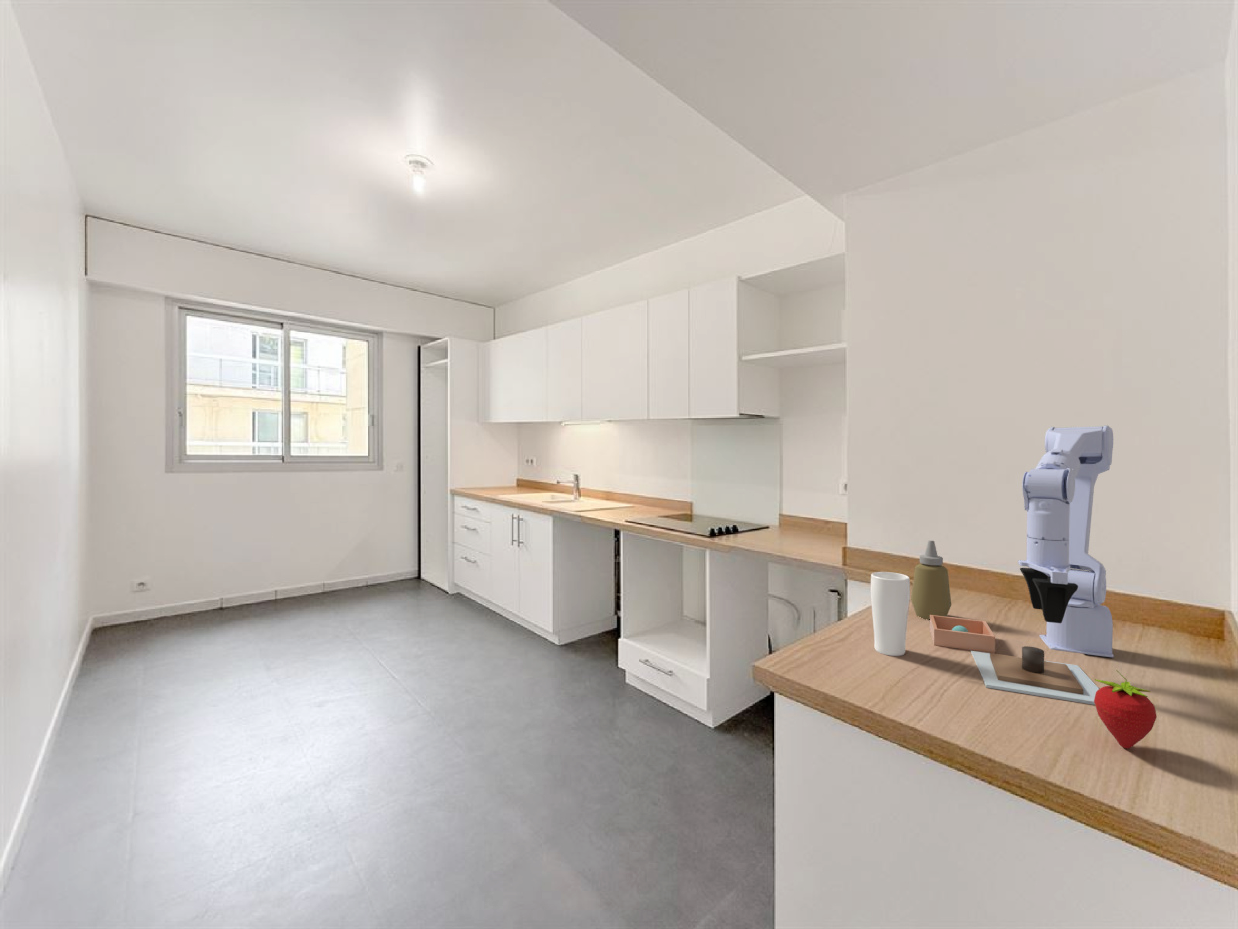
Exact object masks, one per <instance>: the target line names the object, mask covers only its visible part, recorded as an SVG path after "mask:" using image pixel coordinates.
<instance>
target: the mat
mask: <svg viewBox="0 0 1238 929" xmlns="http://www.w3.org/2000/svg"><path fill="white" fill-rule="evenodd" d="M970 653H971V655H972V657H973V660H974V663H975V664H976V666H977V668H978V671H979V673H980V675H981V678H982V679H983V683H984V685H985V688H986V689H987V688H988V689H993V690H994V689H995V690H998V691H999V690H1000V691H1005V692H1012V693H1018V694H1025V695H1030V696H1037V697H1042V698H1043V697H1044V698H1050V699H1055V700H1062V701H1067V702H1074V703H1075V702H1076V703H1081V704H1086V705H1092V706H1095V703H1094V699H1095V694H1096V692H1097V690H1099V689H1100V688H1099V687H1098V685H1096V684H1095V683H1094V681H1093V680H1092V679H1091V678H1090V677H1089V676H1088V675H1087V674H1086V673H1085V672H1084V670H1083V669H1081V667H1080V666H1079V665H1078V664H1071V663H1065V662H1056V661H1052V662H1053V663H1060V664H1066V665H1067V666H1068V668H1069V669H1070V671H1071V672H1072V674H1073V675H1074V677H1075V678H1076V679H1077V681H1078V682H1079V684H1080V685H1081V687H1082V688H1083V694H1077V693H1071V692H1065V691H1059V690H1053V689H1048V688H1042V687H1036V686H1030V685H1024V684H1018V683H1013V682H1007V681H1001V680H998V679H997V676H996V673H995V670H994V667H993V665H992V662H991V659H990V653H987V652H980V651H973V650H970ZM1019 657H1020V656H1019ZM1020 658H1022V656H1021V657H1020ZM1046 661H1047V662H1051V661H1048V660H1046Z"/></svg>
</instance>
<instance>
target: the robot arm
mask: <svg viewBox="0 0 1238 929" xmlns="http://www.w3.org/2000/svg"><path fill="white" fill-rule="evenodd" d="M1113 448H1114V431H1113V428H1112V427H1110V426H1109V425H1108V424H1107V425H1103V426H1102V425H1101V426H1100V425H1099V426H1075V427H1074V426H1072V427H1071V426H1070V427H1055V426H1051V427H1049V428H1048V429H1047V430H1046V431H1045V437H1044V450H1045V453H1044V454H1043V455H1042V456H1041V458H1040V459H1039V461H1038V463H1037V465H1036V466H1035V467H1034V468H1031V469H1030V470H1029V471H1025V472H1024V474H1023V476H1022V480H1021V481H1022V482H1021V490H1022V497H1023V503H1024V504H1023V506H1024V507H1023V508H1024V511H1026V559H1025V560H1024V559H1023V560H1022V559H1019V560H1018V561H1017V564H1018V565H1019V566H1020V568H1019V570H1020V572H1021V574H1022V576H1023V578H1024V580H1025V582H1026V586H1027V588H1028V594H1029V597H1030V603H1031V605H1032V608H1033V610H1041V611H1042V616H1043V618H1044V621H1045V622H1046V628H1045V631H1046V634H1039V639H1041V640H1042V641H1043V643H1044V644H1045V645H1046V647H1048V648H1049V650H1052V651H1053V650H1054V651H1059V652H1060V651H1061V652H1068V653H1069V652H1070V653H1077V654H1084V655H1090V656H1099V657H1105V658H1107V657H1108V658H1114V654H1113V636H1114V635H1113V628H1114V626H1113V623H1114V622H1113V617H1112V613H1111V610H1110V608H1109V607H1108V606H1106V605H1102V604H1103V603H1105V601H1106V595H1107V577H1106V576H1107V572H1106V571H1107V570H1106V568H1105V566H1104V564H1103V563H1101V561H1099V560H1097V559H1096V558H1094V557H1093V556H1092V555H1091V554H1089V550H1090V538H1091V536H1090V534H1091V526H1092V514H1093V502H1094V493H1095V492H1094V491H1095V485H1096V482H1097V479H1098V476H1099V475H1100V474H1102V473H1105V472H1107V471H1110V468H1111V465H1112V461H1113V450H1114V449H1113Z"/></svg>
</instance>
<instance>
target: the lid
mask: <svg viewBox="0 0 1238 929" xmlns="http://www.w3.org/2000/svg"><path fill="white" fill-rule="evenodd" d="M990 659H991V662H992V665H993V667H994V670H995V673H996V676H997V679H998V680H1001V681H1007V682H1013V683H1018V684H1024V685H1030V686H1036V687H1042V688H1048V689H1053V690H1059V691H1065V692H1071V693H1077V694H1083V688H1082V687H1081V685H1080V684H1079V682H1078V681H1077V679H1076V678H1075V677H1074V675H1073V674H1072V672H1071V671H1070V669H1069V668H1068V666H1067V665H1066V664H1067V663H1065V664H1060V663H1061V662H1058V663H1053V662H1054V661H1050V662H1047V661H1048V660H1045V650H1043V649H1042V648H1038V647H1035V646H1030V645H1029V646H1028V645H1027V646H1025V645H1024V646H1022V647H1021V658H1020V656H1013V655H1006V654H1001V653H999V654H998V653H990Z"/></svg>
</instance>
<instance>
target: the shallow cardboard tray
mask: <svg viewBox="0 0 1238 929" xmlns="http://www.w3.org/2000/svg"><path fill="white" fill-rule="evenodd" d="M955 626H963V627H965V628H966V629H967V630H968V632H961V631H952V629H953V628H954V627H955ZM929 631H930V632H929V633H930V636H931V639H932V643H933V646H936V647H937V646H938V647H946V648H953V649H959V650H965V651H977V652H984V653H994V654H996V635H995V634H994V633H993V631H992V629H991V628H990V626H989V624H988V623H987V621H986V620H980V619H978V620H977V619H969V618H962V617H961V618H960V617H952V616H947V617H945V616H937V615H930V620H929Z"/></svg>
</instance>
